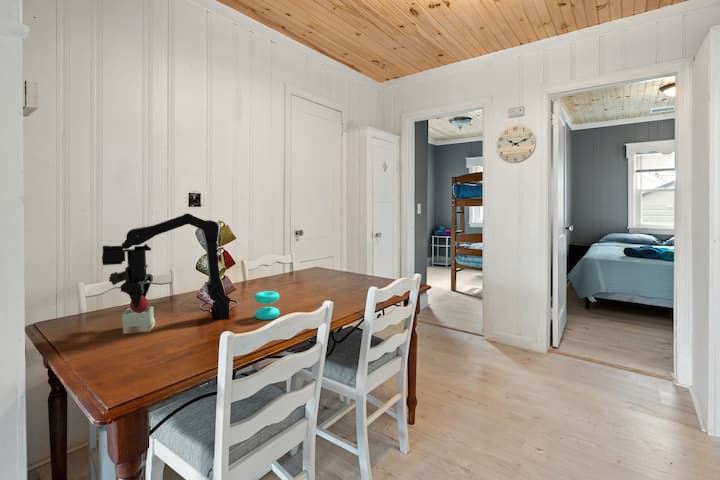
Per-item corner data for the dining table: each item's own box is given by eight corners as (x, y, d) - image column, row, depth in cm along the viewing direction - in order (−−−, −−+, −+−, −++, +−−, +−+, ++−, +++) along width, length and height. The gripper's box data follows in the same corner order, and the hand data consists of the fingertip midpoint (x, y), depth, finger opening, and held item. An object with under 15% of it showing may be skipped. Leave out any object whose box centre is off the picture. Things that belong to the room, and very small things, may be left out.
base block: (155, 325, 143) (154, 318, 143) (150, 333, 135) (149, 325, 135) (129, 327, 141) (129, 320, 140) (123, 335, 132) (123, 327, 132)
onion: (140, 316, 134) (139, 295, 134) (126, 315, 136) (125, 293, 135) (152, 312, 140) (151, 291, 139) (138, 311, 141) (138, 290, 140)
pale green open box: (153, 317, 143) (153, 306, 142) (149, 324, 135) (149, 312, 135) (128, 320, 140) (127, 308, 140) (122, 327, 132) (122, 315, 132)
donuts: (259, 297, 146) (250, 292, 154) (260, 322, 147) (251, 316, 155) (283, 294, 152) (273, 289, 160) (283, 318, 153) (273, 312, 161)
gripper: (119, 260, 142) (121, 300, 144) (101, 268, 124) (104, 314, 126) (152, 259, 145) (154, 298, 147) (139, 267, 128) (141, 311, 129)
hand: (138, 305), depth 137 cm, fingers open, 7 cm apart
